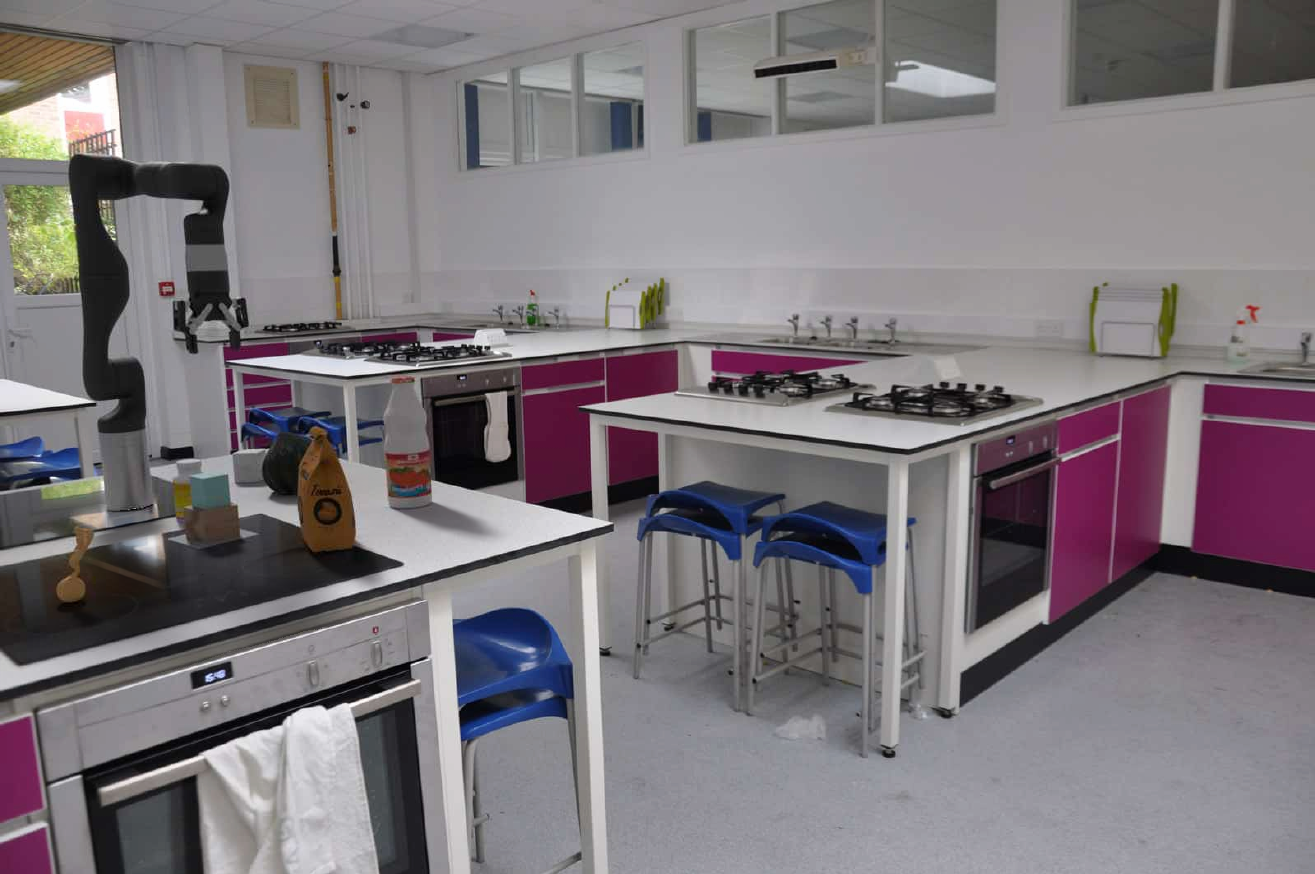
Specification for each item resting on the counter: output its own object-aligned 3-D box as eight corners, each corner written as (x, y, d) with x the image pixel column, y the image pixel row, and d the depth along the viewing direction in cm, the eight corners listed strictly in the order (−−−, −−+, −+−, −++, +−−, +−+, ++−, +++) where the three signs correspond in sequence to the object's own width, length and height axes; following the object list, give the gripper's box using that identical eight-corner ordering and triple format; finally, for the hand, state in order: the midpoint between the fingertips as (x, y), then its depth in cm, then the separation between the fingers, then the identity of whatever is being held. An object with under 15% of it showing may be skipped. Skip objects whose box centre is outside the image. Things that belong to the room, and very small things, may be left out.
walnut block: (186, 537, 193) (182, 507, 192) (220, 529, 198) (217, 500, 197) (205, 543, 189) (202, 512, 188) (240, 535, 194) (237, 504, 193)
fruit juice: (428, 497, 227) (420, 373, 223) (436, 506, 219) (428, 377, 214) (385, 502, 224) (377, 376, 219) (391, 511, 215) (383, 380, 210)
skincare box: (258, 482, 246) (256, 453, 245) (234, 483, 247) (231, 453, 245) (268, 477, 252) (266, 448, 251) (244, 477, 252) (241, 448, 251)
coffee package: (302, 557, 183) (292, 437, 179) (300, 539, 194) (291, 426, 190) (359, 550, 186) (350, 432, 182) (354, 534, 197) (346, 423, 194)
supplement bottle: (198, 526, 205) (192, 464, 203) (169, 525, 207) (163, 463, 204) (218, 518, 212) (213, 458, 210) (190, 517, 213) (184, 457, 211)
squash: (350, 466, 236) (316, 416, 239) (297, 481, 224) (262, 428, 227) (324, 500, 244) (292, 451, 247) (271, 516, 231) (238, 464, 234)
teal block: (192, 506, 192) (188, 475, 191) (216, 501, 196) (213, 471, 195) (206, 510, 189) (202, 478, 188) (230, 504, 193) (228, 474, 192)
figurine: (57, 596, 163) (48, 524, 161) (100, 590, 166) (92, 519, 164) (58, 611, 156) (48, 536, 153) (102, 604, 159) (93, 530, 156)
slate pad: (167, 543, 193) (166, 538, 192) (226, 530, 202) (225, 525, 202) (200, 553, 186) (199, 548, 185) (259, 539, 195) (259, 534, 195)
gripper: (231, 268, 204) (237, 348, 207) (161, 269, 193) (169, 353, 196) (251, 268, 200) (258, 350, 203) (181, 269, 189) (189, 355, 192)
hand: (214, 351), depth 200 cm, fingers open, 8 cm apart
